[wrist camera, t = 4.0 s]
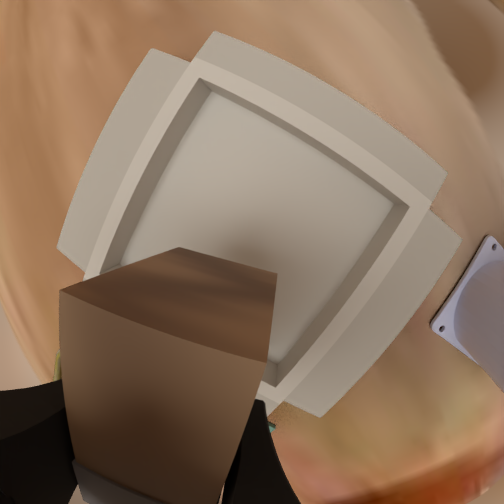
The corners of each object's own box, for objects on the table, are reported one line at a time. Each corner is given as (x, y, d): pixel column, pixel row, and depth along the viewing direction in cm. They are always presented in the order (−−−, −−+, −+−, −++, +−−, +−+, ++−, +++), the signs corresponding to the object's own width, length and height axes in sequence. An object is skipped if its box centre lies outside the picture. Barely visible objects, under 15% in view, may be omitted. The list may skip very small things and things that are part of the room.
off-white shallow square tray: (456, 202, 16) (481, 205, 13) (298, 410, 21) (298, 437, 18) (189, 37, 16) (174, 17, 13) (73, 265, 20) (49, 275, 18)
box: (280, 274, 11) (272, 367, 4) (234, 428, 13) (201, 547, 6) (176, 246, 12) (53, 289, 5) (152, 401, 13) (83, 500, 6)
